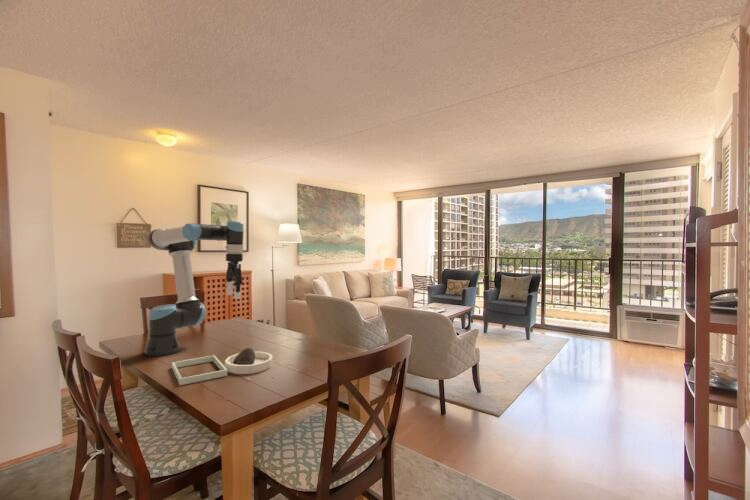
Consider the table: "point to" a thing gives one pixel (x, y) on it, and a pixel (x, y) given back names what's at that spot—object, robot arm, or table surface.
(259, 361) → the bowl
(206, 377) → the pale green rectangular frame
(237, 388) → the table surface
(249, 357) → the stone
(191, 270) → the robot arm
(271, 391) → the table surface
